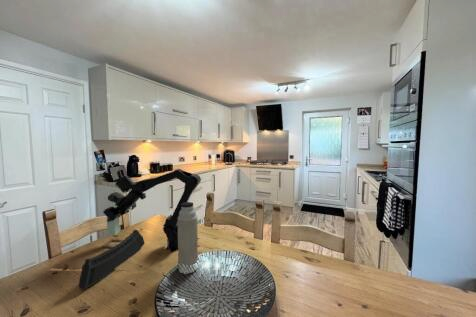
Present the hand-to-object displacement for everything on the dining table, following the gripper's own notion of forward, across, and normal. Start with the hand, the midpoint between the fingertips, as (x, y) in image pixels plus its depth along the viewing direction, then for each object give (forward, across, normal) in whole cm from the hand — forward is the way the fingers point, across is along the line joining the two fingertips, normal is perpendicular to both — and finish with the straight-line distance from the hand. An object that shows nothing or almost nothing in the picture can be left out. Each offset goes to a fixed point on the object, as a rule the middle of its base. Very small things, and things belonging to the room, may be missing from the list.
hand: (110, 219), depth 101 cm
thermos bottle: (-22, +16, +41) cm, 50 cm away
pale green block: (+4, 0, +6) cm, 7 cm away
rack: (+9, 0, +10) cm, 14 cm away
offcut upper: (+4, 0, +14) cm, 15 cm away
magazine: (0, +17, +20) cm, 26 cm away
